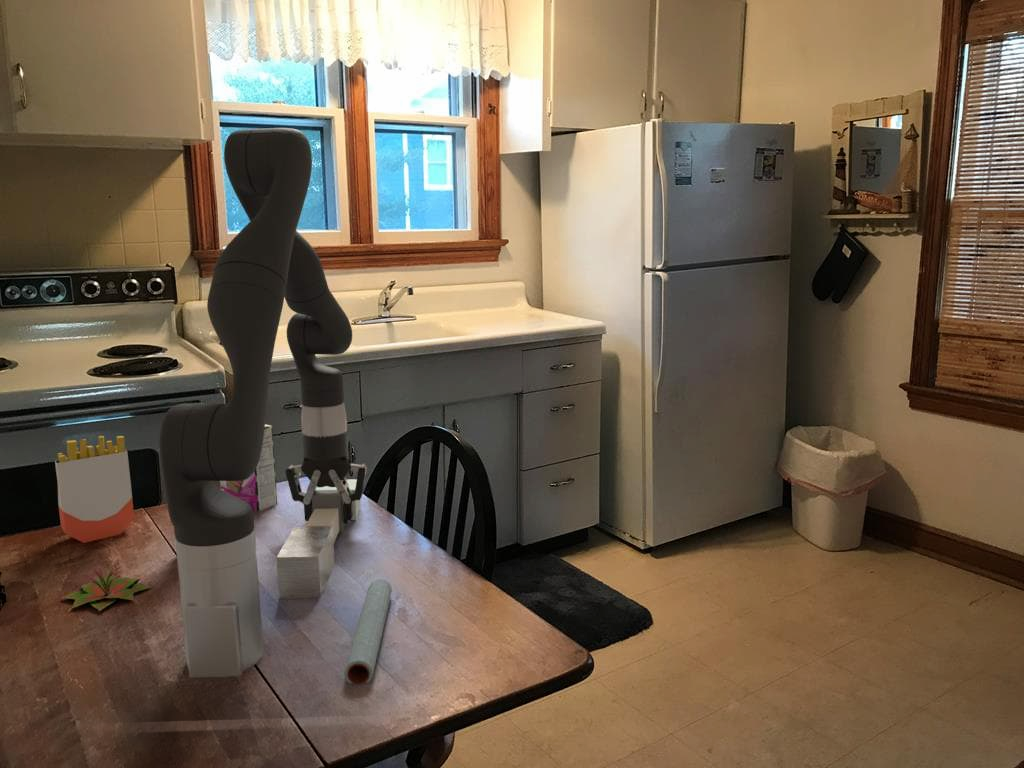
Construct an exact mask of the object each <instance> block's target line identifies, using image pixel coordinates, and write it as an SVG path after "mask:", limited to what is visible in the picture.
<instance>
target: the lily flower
mask: <svg viewBox="0 0 1024 768" xmlns="http://www.w3.org/2000/svg"><path fill="white" fill-rule="evenodd" d="M118 564H119V563H118V562H117V563H115V564H114V567H113V568H112V569H111V571H110V572H109V573H108V571H107V567H106V569H105V571H106V572H105V573H106V576H107V577H106V576H105V574H104V572H102V571H101V567H99V566H97V568H98V570H99V571H100V573H101V574H100V573H99V572H98V570H96V569H92V571H93V573H94V574H95V576H97V578H98V579H96V580H95V579H93V578H92V577H88V579H89V580H91V582H88V583H86V584H81V590H76V591H73V592H70V593H68V594H66V595H65V596H61V597H60V599H67V600H69V599H71V600H74V602H73V606H71V608H70V610H72V609H74V608H77V607H79V606H81V605H82V606H83V605H85V604H86V603H87V604H88V603H89V604H90V605H91V606H92V607H93V608H95V609H97V610H98V612H100V611H102V610H103V609H105V608H106V607H108V606H110V605H111V604H113V603H114V602H116V601H117V600H118V599H123V600H128V601H129V600H130V601H133V602H135V599H134V593H137V592H139V591H145V590H148V589H150V588H153V586H151V585H146V584H143V583H135V582H136V581H138V580H140V579H141V577H140V578H139V577H138V578H137V577H132V578H131V577H120V575H117V574H118V572H116V571H117V570H120V569H121V568H122V566H118ZM117 566H118V567H117ZM115 567H117V568H116V569H115ZM114 569H115V570H114ZM116 575H117V576H116ZM111 592H113V593H112V595H110V593H111ZM103 594H104V595H105V596H103ZM106 595H108V596H106ZM104 599H106V600H104Z"/></svg>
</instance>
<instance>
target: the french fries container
mask: <svg viewBox="0 0 1024 768" xmlns="http://www.w3.org/2000/svg"><path fill="white" fill-rule="evenodd" d="M115 440H116V445H114V444H113V440H106V447H105V436H104V435H99V436H98V445H96V446H95V447H96V452H95V447H94V446H93V445H87V439H84V438H83V439H82V438H81V439H80V441H79V442H80V445H79V447H77V445H78V444H77V441H76V440H75V439H73V440H66V449H67V450H66V452H67V456H66V455H65V454H63V453H62V452H59V453H57V457H58V462H57V461H56V460H54V464H55V473H56V480H57V481H56V482H57V500H58V501H57V504H58V512H59V513H58V514H59V520H60V522H59V523H60V527H61V529H62V530H63V532H64V534H66V535H67V536H69V537H71V538H73V539H75V540H77V541H79V542H81V543H83V544H85V543H88V542H93V541H98V540H100V539H101V540H102V539H106V538H109V537H114V536H115V537H116V536H120V535H122V534H123V533H124V531H125V530H126V529H127V528H128V527H129V526H130V525H131V524H132V523H133V521H134V520H135V514H134V512H135V511H134V504H133V503H134V501H133V494H132V493H133V492H132V482H131V475H130V463H129V456H128V450H127V449H126V447H125V436H123V435H118V436H116V439H115Z"/></svg>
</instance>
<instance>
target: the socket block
mask: <svg viewBox="0 0 1024 768" xmlns="http://www.w3.org/2000/svg"><path fill="white" fill-rule="evenodd" d="M346 481H347V483H348V486H349V488H350V490H351V492H354V491H355V488H356V482H357V478H356V479H355V478H353V479H351V478H350V479H346ZM316 490H337V488H336V487H328V486H325V487H317V488H316ZM352 503H353V516H352V519H351V520H356V519H357V520H358V517H359V515H358V514H360V512H361V509H362V508H361V507H362V505H361V499H360V500H355V501H353V502H352ZM360 508H361V509H360ZM359 511H360V512H359ZM357 516H358V517H357ZM357 520H356V521H357Z"/></svg>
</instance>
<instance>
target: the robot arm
mask: <svg viewBox="0 0 1024 768" xmlns="http://www.w3.org/2000/svg"><path fill="white" fill-rule="evenodd" d="M223 148H224V150H223V160H224V166H225V170H226V174H227V177H228V180H229V182H230V185H231V187H232V189H233V191H234V194H235V195H236V197H237V199H238V201H239V203H240V205H241V207H242V208H243V210H244V212H245V214H246V215H247V218H248V219H249V222H248V223H247V224H246V225H245V226H244V227H243V228H242V229H241V230H240V231H239V232H238V233H237V234H236V235H235V236H234V237H233V239H231V241H230V242H229V243H228V244H227V245H226V246H225V248H224V249H223V250H222V252H221V253H220V254H219V256H218V258H217V260H216V263H215V265H214V270H213V274H212V279H211V284H210V287H209V292H208V297H207V302H206V304H207V305H206V307H207V313H208V317H209V320H210V323H211V325H212V327H213V329H214V332H215V334H216V336H217V338H218V340H219V342H220V343H221V345H222V348H223V349H224V351H225V354H226V356H227V358H228V361H229V363H230V367H231V370H232V390H231V397H230V400H229V402H228V403H194V402H193V403H190V402H188V403H179V404H175V405H173V406H172V407H170V408H169V409H168V410H167V412H166V413H165V415H164V417H163V419H162V422H161V425H160V430H159V441H158V443H159V455H160V456H159V457H160V464H161V470H162V477H163V482H164V490H165V496H166V503H167V510H168V511H167V512H168V516H169V519H170V521H171V524H172V526H173V530H174V542H175V541H176V547H175V550H176V559H177V560H176V561H177V563H176V564H177V573H178V583H179V584H178V585H179V592H180V593H179V595H180V607H181V614H182V615H181V617H182V625H183V626H182V627H183V636H184V647H185V656H186V657H185V658H186V666H187V669H188V677H189V678H219V677H220V678H222V677H223V678H224V677H227V678H228V677H229V678H230V677H240V676H242V674H243V673H244V672H245V671H247V670H248V669H250V668H251V667H254V666H255V665H256V664H257V663H258V662H259V661H260V660H261V659H262V658H263V655H264V651H265V649H264V638H263V625H262V624H263V623H262V614H261V611H262V610H261V600H260V599H261V597H260V596H261V595H260V585H259V584H260V583H259V571H258V558H257V557H258V556H257V542H256V529H255V527H256V525H255V514H254V510H253V509H252V507H251V506H250V505H249V504H248V503H247V502H245V501H243V500H241V499H239V498H236V497H234V496H232V495H230V494H227V493H226V492H224V491H222V490H221V489H220V488H219V487H218V486H217V485H216V484H215V483H214V482H219V481H242V480H246V479H248V478H249V477H250V476H252V474H253V473H254V471H255V469H256V468H257V465H258V462H259V459H260V455H261V451H262V445H263V437H264V428H265V424H266V418H267V408H268V407H267V406H268V396H269V385H270V376H271V370H272V369H271V368H272V361H273V356H274V351H275V344H276V339H277V334H278V330H279V326H280V320H281V316H282V313H283V312H282V311H283V306H284V303H285V302H286V304H287V307H288V308H289V309H290V310H291V311H293V312H295V314H293V315H292V316H291V317H290V319H289V320H288V323H287V326H286V339H287V343H288V347H289V350H290V352H291V355H292V358H293V361H294V364H295V367H296V371H297V374H298V377H299V381H300V391H301V393H300V394H301V417H300V418H301V419H300V420H301V436H302V451H303V453H302V454H303V460H302V463H301V464H297V465H295V464H289V466H288V467H287V468H286V470H285V477H286V479H287V483H288V487H289V491H290V494H291V498H292V500H293V501H294V502H299V503H302V504H303V511H304V512H303V515H304V521H305V522H308V520H309V519H310V517H311V515H312V513H313V510H312V495H313V494H314V492H315V490H316V488H317V487H325V486H328V487H336V488H337V490H338V492H339V493H340V494H341V496H342V498H343V500H344V503H343V518H344V524H345V525H347V524H348V525H349V523H350V521H349V520H351V519H352V516H353V503H352V502H353V501H355V500H360V501H361V498H362V497H363V495H364V489H365V483H366V476H367V469H368V465H367V464H366V463H361V464H359V463H358V464H357V463H352V461H351V459H350V457H349V446H348V445H349V442H348V421H347V419H348V418H347V411H346V406H345V391H344V390H345V389H344V377H343V373H342V372H341V370H339V369H338V368H336V367H331V366H327V365H324V364H323V363H321V362H320V361H319V359H318V357H317V356H318V355H324V356H325V355H326V356H327V355H328V356H329V355H330V356H336V355H342V354H344V353H345V352H346V351H348V349H349V348H350V346H351V344H352V341H353V330H352V325H351V322H350V320H349V318H348V316H347V314H346V313H345V311H344V310H343V308H342V307H341V305H340V304H339V303H338V301H337V300H336V298H335V296H334V295H333V293H332V292H331V290H330V288H329V285H328V282H327V278H326V275H325V272H324V267H323V265H322V262H321V259H320V257H319V255H318V253H317V252H316V250H315V249H314V248H313V246H312V245H311V244H310V243H309V242H308V240H306V239H305V237H304V236H302V234H300V233H299V232H298V231H297V228H298V224H299V221H300V218H301V216H302V215H301V214H302V211H303V207H304V204H305V200H306V197H307V194H308V190H309V186H310V182H311V178H312V177H311V176H312V170H313V169H312V166H313V154H312V148H311V143H310V142H309V139H308V137H307V136H306V134H304V132H302V131H301V130H298V129H295V128H290V127H289V128H288V127H269V128H268V127H267V128H249V129H238V130H235V131H233V132H231V133H230V134H229V135H228V136H227V138H226V141H225V145H224V147H223ZM316 355H317V356H316ZM350 471H352V473H353V476H354V477H353V478H356V479H357V482H356V488H355V491H354V492H351V490H350V488H349V486H348V483H347V481H346V480H347V478H346V477H347V475H348V474H349V472H350ZM301 473H303V474H304V475H305V477H306V478H307V479H308V480H309V484H308V486H307V489H306V492H303V490H302V486H301V482H300V480H299V479H300V477H301Z"/></svg>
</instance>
